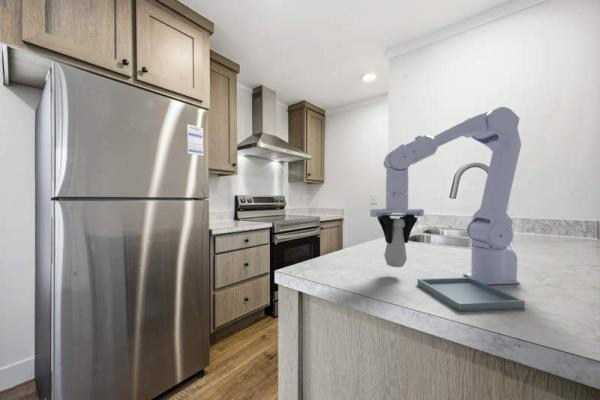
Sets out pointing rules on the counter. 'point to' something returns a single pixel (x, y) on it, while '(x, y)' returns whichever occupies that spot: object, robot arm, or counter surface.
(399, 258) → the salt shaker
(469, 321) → the counter surface
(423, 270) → the counter surface
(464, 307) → the tray
